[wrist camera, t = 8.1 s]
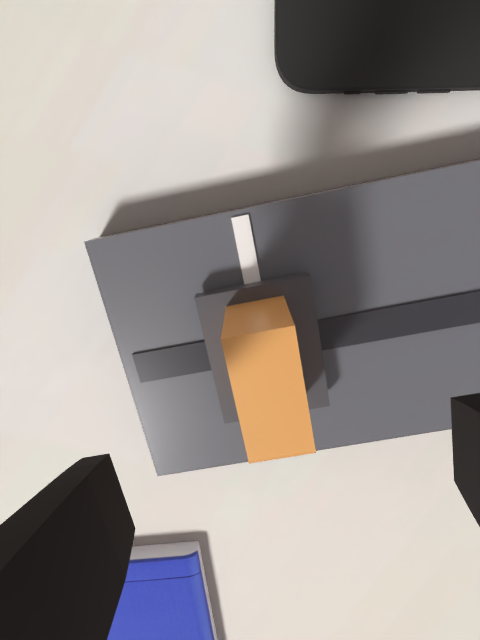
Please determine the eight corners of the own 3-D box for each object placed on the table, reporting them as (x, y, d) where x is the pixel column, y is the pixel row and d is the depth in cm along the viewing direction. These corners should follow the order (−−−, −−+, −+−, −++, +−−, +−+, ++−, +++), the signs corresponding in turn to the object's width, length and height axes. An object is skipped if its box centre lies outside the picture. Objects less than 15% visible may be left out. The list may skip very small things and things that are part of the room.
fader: (308, 272, 14) (330, 300, 10) (326, 398, 15) (352, 461, 12) (196, 293, 14) (179, 328, 11) (225, 415, 16) (219, 482, 12)
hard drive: (229, 726, 23) (197, 558, 19) (88, 734, 23) (29, 572, 19) (230, 693, 24) (200, 531, 21) (98, 701, 25) (45, 544, 21)
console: (645, 124, 14) (693, 116, 13) (620, 379, 17) (657, 397, 15) (99, 237, 15) (83, 242, 14) (164, 453, 18) (157, 477, 17)
